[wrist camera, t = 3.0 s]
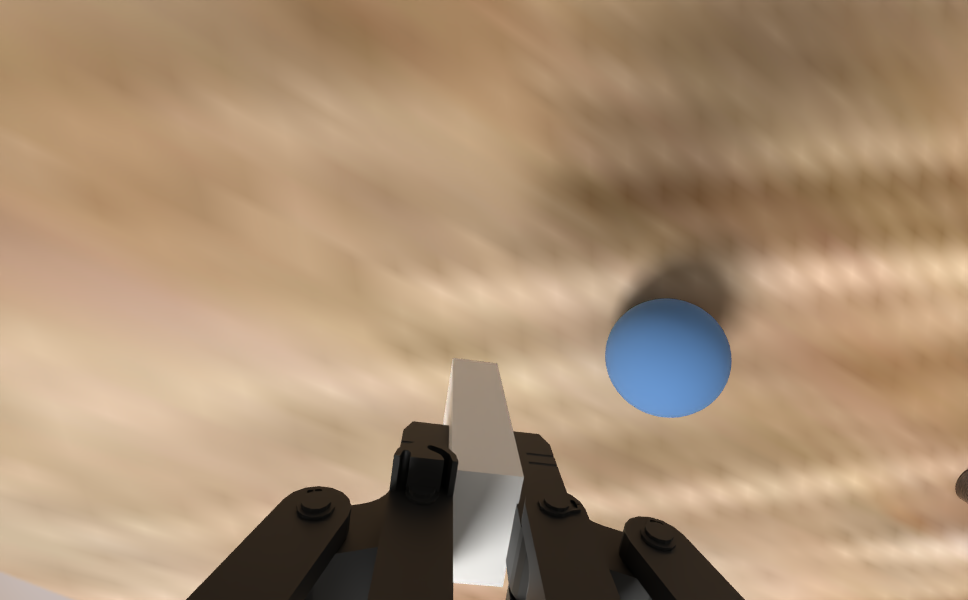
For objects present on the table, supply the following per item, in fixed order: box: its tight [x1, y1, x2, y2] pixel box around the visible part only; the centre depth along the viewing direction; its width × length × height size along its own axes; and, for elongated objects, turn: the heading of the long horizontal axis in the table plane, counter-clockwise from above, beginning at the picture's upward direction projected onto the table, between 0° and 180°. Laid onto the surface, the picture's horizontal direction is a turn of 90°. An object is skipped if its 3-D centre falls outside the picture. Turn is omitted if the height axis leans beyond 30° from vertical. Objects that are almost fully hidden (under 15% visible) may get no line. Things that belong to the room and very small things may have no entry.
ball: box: [605, 298, 731, 418], centre depth 23 cm, size 6×6×6 cm
